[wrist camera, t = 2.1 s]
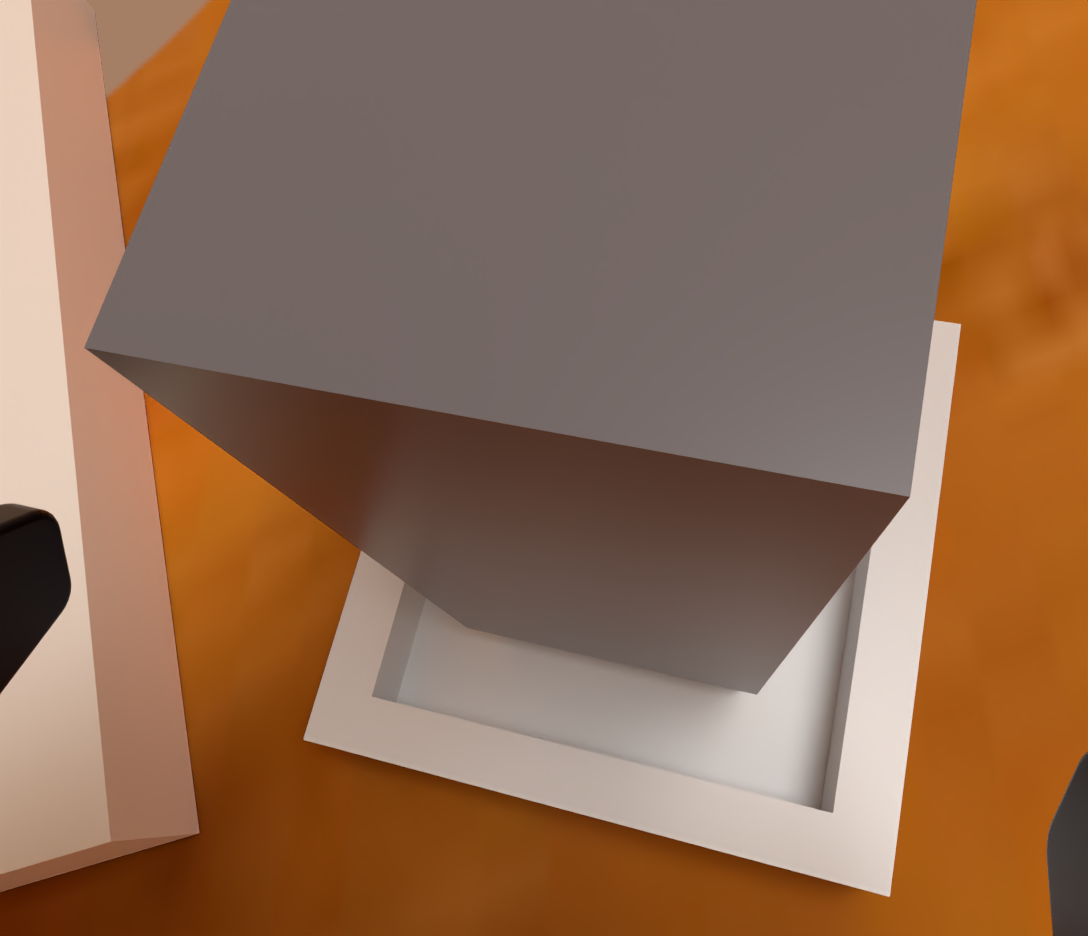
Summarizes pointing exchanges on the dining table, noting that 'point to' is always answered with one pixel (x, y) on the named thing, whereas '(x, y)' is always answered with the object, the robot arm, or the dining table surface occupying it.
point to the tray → (669, 706)
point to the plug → (565, 298)
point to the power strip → (78, 481)
